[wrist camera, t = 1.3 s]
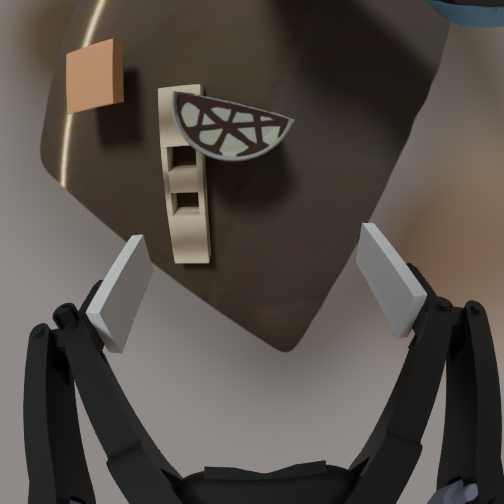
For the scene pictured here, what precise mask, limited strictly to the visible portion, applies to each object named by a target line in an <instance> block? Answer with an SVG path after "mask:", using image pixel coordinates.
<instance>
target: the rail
mask: <svg viewBox="0 0 504 504" xmlns="http://www.w3.org/2000/svg"><path fill="white" fill-rule="evenodd" d="M173 91H177V92H186V93H194V95H201V96H204V85H201V84H196V85H185V86H175V87H167V88H159V89H158V106H159V127H160V142H161V155H162V167H163V177H164V187H165V196H166V204H167V212H168V220H169V227H170V234H171V241H172V247H173V254H174V260H175V263H209V260H210V255H211V245H210V231H209V217H208V200H207V181H206V159H205V155H204V154H202V153H200V152H198V151H197V150H196V163H197V165H184V166H174V160H173V146H187V145H189V144H188V143H187V142H186V141H185V139H184V138H183V137H182V136H181V134H180V132H179V131H178V129H177V127H176V125H175V122H174V119H173V114H172V94H173ZM186 192H198V196H199V207H178V204H177V194H176V193H186Z"/></svg>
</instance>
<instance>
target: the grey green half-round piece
mask: <svg viewBox="0 0 504 504" xmlns="http://www.w3.org/2000/svg"><path fill="white" fill-rule="evenodd" d="M172 114H173V119H174V122H175V125H176V127H177V129H178V131H179V132H180V134H181V136H182V137H183V138H184V139H185V141H186V142H187V143H188V144H189V145H190V146H192V147H193V148H194V149H195V150H197V151H198V152H200V153H202V154H204V155H206V156H208V157H211V158H214V159H217V160H223V161H244V160H249V159H253V158H256V157H258V156H261V155H263V154H265V153H267V152H268V151H270V150H272V149H273V148H274V147H275V146H277V145H278V144H279V143H280V142H281V141H282V140H283V139H284V137H285V136H286V135H287V133H288V132H289V130H290V129H291V127H292V125H293V122H294V119H291V118H288V117H286V116H283V115H280V114H278V113H275V112H272V111H271V112H270V111H266V110H263V109H260V108H256V107H252V106H248V105H244V104H240V103H235V102H231V101H227V100H223V99H218V98H213V97H208V96H201V95H194V93H186V92H177V91H173V94H172Z"/></svg>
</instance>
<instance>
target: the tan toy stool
mask: <svg viewBox="0 0 504 504" xmlns="http://www.w3.org/2000/svg"><path fill="white" fill-rule="evenodd" d="M123 46H124V42H121V41H119V40H116V39H109V40H106V41H103V42H100V43H96V44H93V45H90V46H87V47H85V48H82V49H79V50H76V51H74V52H71V53H69V54H67V62H66V86H67V109H68V114H73V113H78V112H82V111H86V110H90V109H94V108H98V107H102V106H107V105H111V104H116V103H121V102H124V90H123Z"/></svg>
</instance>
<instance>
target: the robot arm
mask: <svg viewBox="0 0 504 504" xmlns="http://www.w3.org/2000/svg"><path fill="white" fill-rule="evenodd" d="M425 1H427V2H428V3H429V4H430V5H431V6H432V7H433V8H434V9H435V10H436V11H437V12H438V13H439V14H440V15H441V16H443V17H444V18H445V19H447V20H448V21H450V22H453V23H456V24H458V25H460V26H464V27H469V28H496V27H501V26H504V0H425ZM356 263H357V265H358V266H359V268H360V270H361V272H362V273H363V275H364V277H365V279H366V281H367V283H368V285H369V287H370V289H371V290H372V292H373V294H374V296H375V298H376V300H377V302H378V304H379V306H380V308H381V310H382V312H383V314H384V316H385V318H386V320H387V322H388V325H389V327H390V329H391V331H392V333H393V335H394V337H395V339H399V338H404V337H408V335H409V334H410V332H411V330H412V329H413V330H414V332H415V335H414V338H413V339H412V341H411V343H410V345H409V347H408V348H409V351H408V354H407V357H406V359H405V362H404V365H403V367H402V370H401V372H400V375H399V377H398V380H397V382H396V384H395V387H394V389H393V391H392V393H391V396H390V398H389V400H388V402H387V404H386V406H385V408H384V411H383V412H382V415H381V417H380V418H379V421H378V422H377V424H376V426H375V428H374V430H373V432H372V434H371V435H370V437H369V439H368V441H367V443H366V444H365V446H364V448H363V449H362V451H361V452H360V454H359V455H358V456H357V458H356V459H355V460H354V461H353V463H352V464H351V466H350V467H349V469H348V470H347V469H345V468H342V467H338V466H333V465H326V461H325V460H323V461H318V462H310V463H303V464H296V465H293V466H290V467H287V468H284V469H280V470H278V471H274V472H270V473H265V474H264V473H257V472H253V471H247V470H243V469H238V468H229V467H205V470H204V471H202V472H198V473H194V474H191V475H189V476H187V477H185V478H182V477H181V475H180V474H179V473H178V472H177V471H176V470H175V469H174V468H173V467H172V466H171V465H170V464H169V462H168V461H167V460H166V459H165V457H164V456H163V455H162V453H161V452H160V450H159V449H158V448H157V446H156V445H155V443H154V442H153V440H152V439H151V437H150V436H149V434H148V433H147V432H146V430H145V428H144V427H143V425H142V424H141V422H140V420H139V419H138V417H137V415H136V414H135V412H134V410H133V408H132V407H131V405H130V403H129V402H128V400H127V398H126V396H125V395H124V393H123V391H122V389H121V387H120V385H119V383H118V382H117V379H116V377H115V375H114V373H113V371H112V369H111V367H110V365H109V363H108V361H107V359H106V356H105V354H104V353H103V351H102V349H103V347H104V345H105V346H106V348H107V349H108V351H109V352H113V353H122V352H123V349H124V346H125V344H126V340H127V338H128V335H129V332H130V330H131V326H132V324H133V322H134V319H135V316H136V314H137V311H138V309H139V306H140V303H141V301H142V298H143V296H144V293H145V291H146V289H147V286H148V284H149V281H150V279H151V276H152V274H153V268H152V265H151V261H150V258H149V254H148V251H147V247H146V244H145V240H144V236H143V235H133V236H131V238H130V239H129V241H128V242H127V244H126V245H125V247H124V249H123V250H122V252H121V253H120V255H119V256H118V258H117V259H116V261H115V263H114V264H113V266H112V267H111V269H110V271H109V272H108V274H107V276H106V277H105V279H104V280H99V281H98V282H97V283H96V284H95V285H94V286H93V288H92V289H91V291H90V294H88V296H87V298H86V299H85V301H84V303H83V304H82V306H81V308H80V310H79V311H78V310H77V309H76V307H75V305H74V304H72V303H65V304H63V305H61V306H59V307H58V308H57V309H56V310H55V311H54V313H53V320H54V321H55V323H56V325H57V326H58V329H54V330H51V329H50V328H49V326H48V325H47V324H45V323H42V324H39V325H37V326H36V327H34V328H33V330H32V331H31V333H30V336H29V343H28V350H27V358H26V367H25V379H24V402H23V403H24V404H23V410H24V411H23V413H24V414H23V419H24V441H25V453H26V462H27V469H28V475H29V482H30V484H29V496H28V504H96V500H95V495H94V491H93V487H92V483H91V479H90V476H89V472H88V468H87V464H86V460H85V455H84V450H83V445H82V440H81V434H80V428H79V422H78V415H77V407H76V398H75V387H74V380H75V383H76V386H77V388H78V391H79V394H80V397H81V399H82V402H83V405H84V407H85V410H86V412H87V414H88V417H89V419H90V421H91V424H92V426H93V428H94V430H95V433H96V435H97V437H98V439H99V441H100V443H101V445H102V447H103V449H104V451H105V453H106V455H107V457H108V461H107V462H106V463H107V467H108V469H109V471H110V473H111V475H112V477H113V478H114V480H115V482H116V484H117V485H118V487H119V488H120V490H121V492H122V493H123V495H124V496H125V498H126V499H127V501H128V502H129V504H396V502H397V500H398V499H399V497H400V495H401V493H402V492H403V490H404V488H405V486H406V484H407V482H408V480H409V478H410V476H411V474H412V472H413V470H414V468H415V466H416V464H417V461H418V459H419V457H420V455H421V452H422V445H421V444H420V442H421V438H422V436H423V433H424V430H425V428H426V425H427V423H428V419H429V417H430V414H431V411H432V408H433V405H434V402H435V399H436V395H437V392H438V388H439V385H440V381H441V377H442V373H443V369H444V365H445V361H446V411H445V425H444V435H443V443H442V450H441V457H440V463H439V469H438V476H437V491H436V492H435V493H434V494H433V496H432V497H431V499H430V500H429V501H428V502H427V504H504V474H503V467H502V463H501V442H502V441H501V440H502V413H501V396H500V385H499V376H498V369H497V362H496V356H495V351H494V345H493V340H492V335H491V331H490V326H489V323H488V319H487V315H486V311H485V309H484V307H483V306H482V305H481V304H480V303H479V302H476V301H473V300H471V301H468V302H467V303H466V305H465V307H464V308H460V307H453V305H452V303H451V302H450V301H449V300H447V299H445V298H443V297H438V296H437V295H436V294H435V292H434V291H433V289H432V288H431V286H430V285H429V284H428V283H427V281H425V278H424V277H423V276H422V274H421V273H420V272H419V270H418V269H417V268H416V267H414V266H413V265H412V264H411V263H405V262H404V261H403V260H402V258H401V257H400V256H399V254H398V253H397V252H396V251H395V249H394V248H393V247H392V245H391V244H390V243H389V242H388V240H387V239H386V238H385V237H384V235H383V234H382V233H381V232H380V231H379V229H378V228H377V227H376V226H375V225H374V223H362V228H361V234H360V240H359V246H358V252H357V257H356Z"/></svg>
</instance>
